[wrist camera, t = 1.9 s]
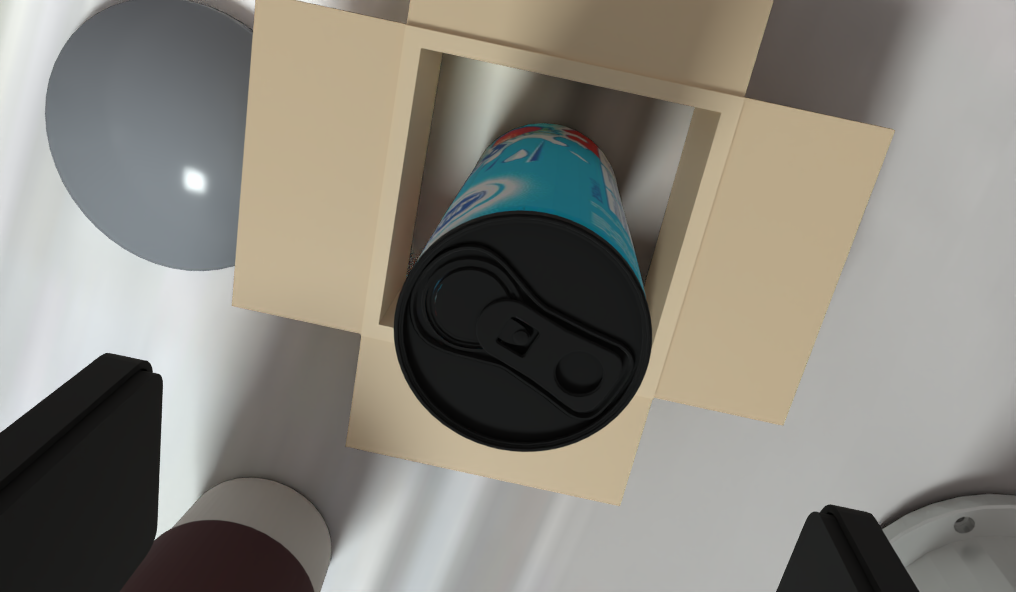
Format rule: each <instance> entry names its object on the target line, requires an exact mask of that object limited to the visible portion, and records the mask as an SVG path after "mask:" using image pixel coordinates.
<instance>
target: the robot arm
mask: <svg viewBox="0 0 1016 592" xmlns="http://www.w3.org/2000/svg"><path fill="white" fill-rule="evenodd" d="M162 395H163V380H162V377H161V375H160V374H157V373H153V370H152V367H151V364H150V363H149V362H148V361H145V360H140V359H135V358H131V357H126V356H121V355H116V354H111V353H105V354H103V355H101V356H100V357H98V358H97V359H96V360H94V361H93V362H92V363H91V364H89V365H88V366H87V367H85V368H84V369H83V370H81V371H80V372H79V373H78V374H76V375H75V376H74V377H72V378H71V379H70V380H68V381H67V382H66V383H64V384H63V385H62V386H61V387H59V388H58V389H57V390H55V391H54V392H53V393H51V394H50V395H49V396H48V397H46V398H45V399H44V400H42V401H41V402H40V403H38V404H37V405H36V406H35V407H33V408H32V409H31V410H29V411H28V412H27V413H25V414H24V415H23V416H22V417H20V418H19V419H18V420H16V421H15V422H14V423H12V424H11V425H10V426H9V427H7V428H6V429H5V430H3V431H2V432H1V433H0V592H120V590H121V589H122V588H123V586H124V585H125V584H126V582H127V581H128V580H129V578H130V577H131V576H132V574H133V573H134V572H135V570H136V569H137V568H138V566H139V565H140V564H141V562H142V561H143V560H144V558H145V557H146V556H147V554H148V552H149V551H150V549H151V547H152V545H153V542H154V539H155V536H156V532H157V520H158V495H159V470H160V445H161V420H162ZM776 592H1016V495H999V494H983V495H973V496H963V497H957V498H953V499H949V500H945V501H941V502H937V503H933V504H930V505H928V506H926V507H923V508H921V509H918V510H916V511H914V512H911V513H909V514H907V515H905V516H903V517H902V518H900V519H898V520H897V521H895V522H893V523H892V524H890V525H889V526H887V527H885V528H884V529H881V527H880V525H879V524H878V522H877V520H876V519H875V518H874V516H873V515H872V514H870V513H868V512H864V511H859V510H854V509H850V508H845V507H840V506H835V505H831V504H830V505H827V506H825V507H824V508H823V509H822V510H821V512H820V513H819V512H812V513H811V514H810V515H809V516H808V518H807V519H806V522H805V524H804V526H803V529H802V531H801V533H800V536H799V538H798V541H797V543H796V545H795V548H794V550H793V553H792V555H791V557H790V560H789V562H788V565H787V567H786V569H785V572H784V574H783V577H782V579H781V581H780V584H779V586H778V589H777V591H776Z"/></svg>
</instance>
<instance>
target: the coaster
mask: <svg viewBox="0 0 1016 592" xmlns="http://www.w3.org/2000/svg"><path fill="white" fill-rule="evenodd" d="M252 39H253V31H252V30H251V29H250V28H248V27H247V26H246V25H244V24H243V23H241V22H240V21H238V20H236V19H235V18H233V17H231V16H230V15H228V14H226V13H224V12H222V11H219V10H217V9H215V8H212V7H210V6H207V5H204V4H200V3H197V2H193V1H189V0H130V1H126V2H123V3H120V4H117V5H114V6H111V7H109V8H107V9H105V10H103V11H101V12H99V13H97V14H96V15H95V16H93V17H92V18H90V19H89V20H88V21H86V22H85V23H84V24H83V25H82V26H81V27H80V28H79V29H78V30H77V31H76V32H75V33H74V34H72V36H71V37H70V38H69V40H68V41H67V43H66V44H65V45H64V47H63V48H62V50H61V52H60V54H59V56H58V58H57V60H56V62H55V64H54V67H53V70H52V73H51V76H50V79H49V83H48V88H47V94H46V106H45V119H46V132H47V137H48V142H49V147H50V151H51V154H52V157H53V160H54V163H55V166H56V168H57V171H58V173H59V175H60V177H61V179H62V181H63V184H64V185H65V187H66V189H67V190H68V192H69V194H70V195H71V197H72V199H73V200H74V201H75V203H76V204H77V205H78V207H79V208H80V209H81V211H82V212H83V213H84V214H85V216H86V217H87V218H88V219H89V220H90V221H91V222H92V223H93V224H94V225H95V226H96V227H97V228H98V229H99V230H100V231H101V232H103V233H104V234H105V235H106V236H107V237H108V238H109V239H111V240H112V241H114V242H115V243H117V244H118V245H119V246H121V247H122V248H124V249H126V250H127V251H129V252H131V253H133V254H135V255H137V256H138V257H141V258H143V259H145V260H148V261H150V262H153V263H155V264H159V265H162V266H166V267H169V268H174V269H181V270H187V271H209V270H218V269H223V268H227V267H231V266H235V259H236V246H237V233H238V220H239V207H240V194H241V181H242V168H243V155H244V142H245V129H246V116H247V104H248V91H249V78H250V65H251V52H252Z"/></svg>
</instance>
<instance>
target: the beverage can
mask: <svg viewBox="0 0 1016 592" xmlns="http://www.w3.org/2000/svg"><path fill="white" fill-rule="evenodd" d="M394 343H395V350H396V354H397V359H398V362H399V365H400V368H401V371H402V373H403V375H404V378H405V380H406V382H407V383H408V385H409V387H410V389H411V390H412V392H413V393H414V395H415V396H416V398H417V399H418V400H419V402H420V403H421V404H422V405H423V407H424V408H425V409H426V410H427V411H428V412H429V413H430V414H431V415H432V416H433V417H435V418H436V419H437V420H438V421H439V422H441V423H442V424H443V425H444V426H446V427H448V428H449V429H451V430H452V431H454V432H455V433H457V434H459V435H461V436H463V437H464V438H466V439H469V440H471V441H473V442H476V443H478V444H481V445H485V446H488V447H491V448H496V449H500V450H507V451H516V452H537V451H547V450H552V449H557V448H561V447H565V446H568V445H571V444H574V443H577V442H579V441H581V440H583V439H586V438H588V437H590V436H591V435H593V434H595V433H597V432H598V431H600V430H601V429H603V428H604V427H606V426H607V425H608V424H609V423H610V422H612V421H613V420H614V419H615V418H616V417H618V415H619V414H620V413H621V412H622V411H623V410H624V409H625V408H626V406H627V405H628V404H629V403H630V401H631V400H632V399H633V397H634V396H635V394H636V392H637V391H638V389H639V387H640V385H641V383H642V381H643V379H644V376H645V374H646V371H647V368H648V364H649V360H650V355H651V348H652V324H651V317H650V312H649V307H648V303H647V300H646V296H645V291H644V287H643V282H642V278H641V274H640V270H639V266H638V262H637V258H636V254H635V250H634V246H633V242H632V238H631V235H630V231H629V227H628V224H627V220H626V216H625V213H624V209H623V205H622V202H621V198H620V194H619V191H618V187H617V181H616V178H615V175H614V172H613V169H612V166H611V165H610V163H609V161H608V160H607V158H606V156H605V155H604V153H603V152H602V151H601V150H600V149H599V148H598V147H597V146H596V145H595V144H594V142H593V141H592V140H590V139H589V138H587V137H586V136H584V135H582V134H581V133H579V132H578V131H576V130H573V129H570V128H568V127H565V126H562V125H556V124H548V123H540V124H529V125H525V126H522V127H519V128H516V129H513V130H511V131H509V132H508V133H506V134H504V135H502V136H501V137H499V138H498V139H497V140H496V141H495V142H494V143H492V144H491V145H490V146H489V147H488V148H487V149H486V150H485V152H484V153H483V155H482V156H481V158H480V159H479V161H478V162H477V164H476V166H475V168H474V169H473V171H472V173H471V174H470V176H469V177H468V179H467V180H466V182H465V184H464V185H463V187H462V188H461V190H460V191H459V193H458V195H457V196H456V198H455V199H454V201H453V202H452V204H451V206H450V207H449V209H448V210H447V212H446V214H445V215H444V217H443V218H442V220H441V222H440V223H439V225H438V227H437V228H436V230H435V231H434V233H433V235H432V236H431V238H430V240H429V241H428V243H427V245H426V246H425V248H424V250H423V251H422V253H421V255H420V257H419V258H418V260H417V262H416V263H415V265H414V266H413V268H412V270H411V271H410V273H409V275H408V276H407V278H406V280H405V282H404V284H403V287H402V289H401V292H400V294H399V298H398V301H397V304H396V310H395V315H394Z"/></svg>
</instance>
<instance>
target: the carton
mask: <svg viewBox="0 0 1016 592" xmlns="http://www.w3.org/2000/svg"><path fill="white" fill-rule="evenodd" d="M773 1H774V0H410V5H409V12H408V19H407V24H404V23H399V22H394V21H390V20H385V19H381V18H376V17H371V16H367V15H362V14H357V13H353V12H348V11H344V10H339V9H334V8H330V7H325V6H320V5H316V4H311V3H306V2H302V1H297V0H255V13H254V26H253V39H252V52H251V65H250V78H249V91H248V104H247V116H246V129H245V142H244V155H243V168H242V181H241V194H240V207H239V220H238V233H237V246H236V259H235V271H234V284H233V297H232V306H234V307H239V308H244V309H248V310H253V311H257V312H262V313H267V314H271V315H276V316H280V317H285V318H290V319H294V320H299V321H304V322H308V323H313V324H317V325H322V326H327V327H331V328H336V329H340V330H345V331H350V332H354V333H359V334H361V342H360V349H359V356H358V363H357V370H356V377H355V384H354V391H353V398H352V404H351V411H350V418H349V425H348V432H347V439H346V446H345V447H350V448H355V449H359V450H364V451H368V452H373V453H378V454H382V455H387V456H391V457H396V458H401V459H405V460H410V461H414V462H419V463H424V464H428V465H433V466H437V467H442V468H447V469H451V470H456V471H460V472H465V473H470V474H474V475H479V476H483V477H488V478H493V479H497V480H502V481H506V482H511V483H516V484H520V485H525V486H529V487H534V488H539V489H543V490H548V491H552V492H557V493H562V494H566V495H571V496H575V497H580V498H585V499H589V500H594V501H598V502H603V503H608V504H612V505H617V506H620V504H621V501H622V498H623V494H624V491H625V488H626V485H627V481H628V478H629V475H630V471H631V468H632V465H633V462H634V458H635V455H636V452H637V448H638V445H639V442H640V439H641V435H642V432H643V429H644V425H645V422H646V419H647V416H648V412H649V409H650V406H651V402H652V399H654V398H658V399H663V400H668V401H672V402H677V403H681V404H686V405H691V406H695V407H700V408H704V409H709V410H714V411H718V412H723V413H727V414H732V415H737V416H741V417H746V418H751V419H755V420H760V421H764V422H769V423H774V424H778V425H784V422H785V420H786V417H787V414H788V412H789V409H790V406H791V404H792V401H793V399H794V396H795V393H796V391H797V388H798V385H799V383H800V380H801V377H802V375H803V372H804V370H805V367H806V364H807V362H808V359H809V356H810V354H811V351H812V348H813V346H814V343H815V341H816V338H817V335H818V333H819V330H820V327H821V325H822V322H823V319H824V317H825V314H826V311H827V309H828V306H829V304H830V301H831V298H832V296H833V293H834V290H835V288H836V285H837V282H838V280H839V277H840V275H841V272H842V269H843V267H844V264H845V261H846V259H847V256H848V253H849V251H850V248H851V245H852V243H853V240H854V238H855V235H856V232H857V230H858V227H859V224H860V222H861V219H862V216H863V214H864V211H865V209H866V206H867V203H868V201H869V198H870V195H871V193H872V190H873V187H874V185H875V182H876V180H877V177H878V174H879V172H880V169H881V166H882V164H883V161H884V158H885V156H886V153H887V150H888V148H889V145H890V143H891V140H892V137H893V135H894V132H895V130H893V129H890V128H885V127H881V126H876V125H871V124H867V123H862V122H857V121H853V120H848V119H844V118H839V117H834V116H830V115H825V114H820V113H816V112H811V111H806V110H802V109H797V108H793V107H788V106H783V105H779V104H774V103H769V102H765V101H760V100H756V99H751V98H746V97H745V93H746V90H747V87H748V84H749V80H750V77H751V74H752V70H753V67H754V64H755V61H756V57H757V54H758V51H759V47H760V44H761V41H762V38H763V34H764V31H765V28H766V24H767V21H768V18H769V15H770V11H771V8H772V5H773ZM443 53H447V54H452V55H457V56H461V57H466V58H470V59H475V60H480V61H484V62H489V63H494V64H498V65H503V66H507V67H512V68H517V69H521V70H526V71H531V72H535V73H540V74H544V75H549V76H554V77H558V78H563V79H568V80H572V81H577V82H581V83H586V84H591V85H595V86H600V87H605V88H609V89H614V90H619V91H623V92H628V93H632V94H637V95H642V96H646V97H651V98H656V99H660V100H665V101H669V102H674V103H679V104H683V105H688V106H693V107H695V109H694V113H693V116H692V120H691V123H690V127H689V130H688V134H687V137H686V141H685V144H684V148H683V151H682V155H681V158H680V162H679V166H678V169H677V173H676V176H675V180H674V183H673V187H672V190H671V194H670V197H669V201H668V204H667V208H666V211H665V215H664V219H663V222H662V226H661V229H660V233H659V236H658V240H657V243H656V247H655V250H654V254H653V257H652V261H651V264H650V268H649V272H648V275H647V279H646V282H645V286H644V291H645V296H646V300H647V303H648V307H649V312H650V317H651V324H652V348H651V355H650V360H649V364H648V368H647V371H646V374H645V376H644V379H643V381H642V383H641V385H640V387H639V389H638V391H637V392H636V394H635V396H634V397H633V399H632V400H631V401H630V403H629V404H628V405H627V406H626V408H625V409H624V410H623V411H622V412H621V413H620V414H619V415H618V417H616V418H615V419H614V420H613V421H612V422H610V423H609V424H608V425H607V426H606V427H604V428H603V429H601V430H600V431H598V432H597V433H595V434H593V435H591V436H590V437H588V438H586V439H583V440H581V441H579V442H577V443H574V444H571V445H568V446H565V447H561V448H557V449H552V450H547V451H537V452H516V451H507V450H500V449H496V448H491V447H488V446H485V445H481V444H478V443H476V442H473V441H471V440H469V439H466V438H464V437H463V436H461V435H459V434H457V433H455V432H454V431H452V430H451V429H449V428H448V427H446V426H444V425H443V424H442V423H441V422H439V421H438V420H437V419H436V418H435V417H433V416H432V415H431V414H430V413H429V412H428V411H427V410H426V409H425V408H424V407H423V405H422V404H421V403H420V402H419V400H418V399H417V398H416V396H415V395H414V393H413V392H412V390H411V389H410V387H409V385H408V383H407V382H406V380H405V378H404V375H403V373H402V371H401V368H400V365H399V362H398V359H397V354H396V350H395V343H394V315H395V310H396V304H397V301H398V298H399V294H400V292H401V289H402V287H403V284H404V282H405V280H406V275H407V269H408V263H409V257H410V251H411V245H412V239H413V233H414V226H415V220H416V214H417V208H418V202H419V196H420V190H421V184H422V177H423V171H424V165H425V159H426V153H427V147H428V141H429V134H430V128H431V122H432V116H433V110H434V104H435V98H436V92H437V85H438V79H439V73H440V67H441V61H442V55H443Z"/></svg>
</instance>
